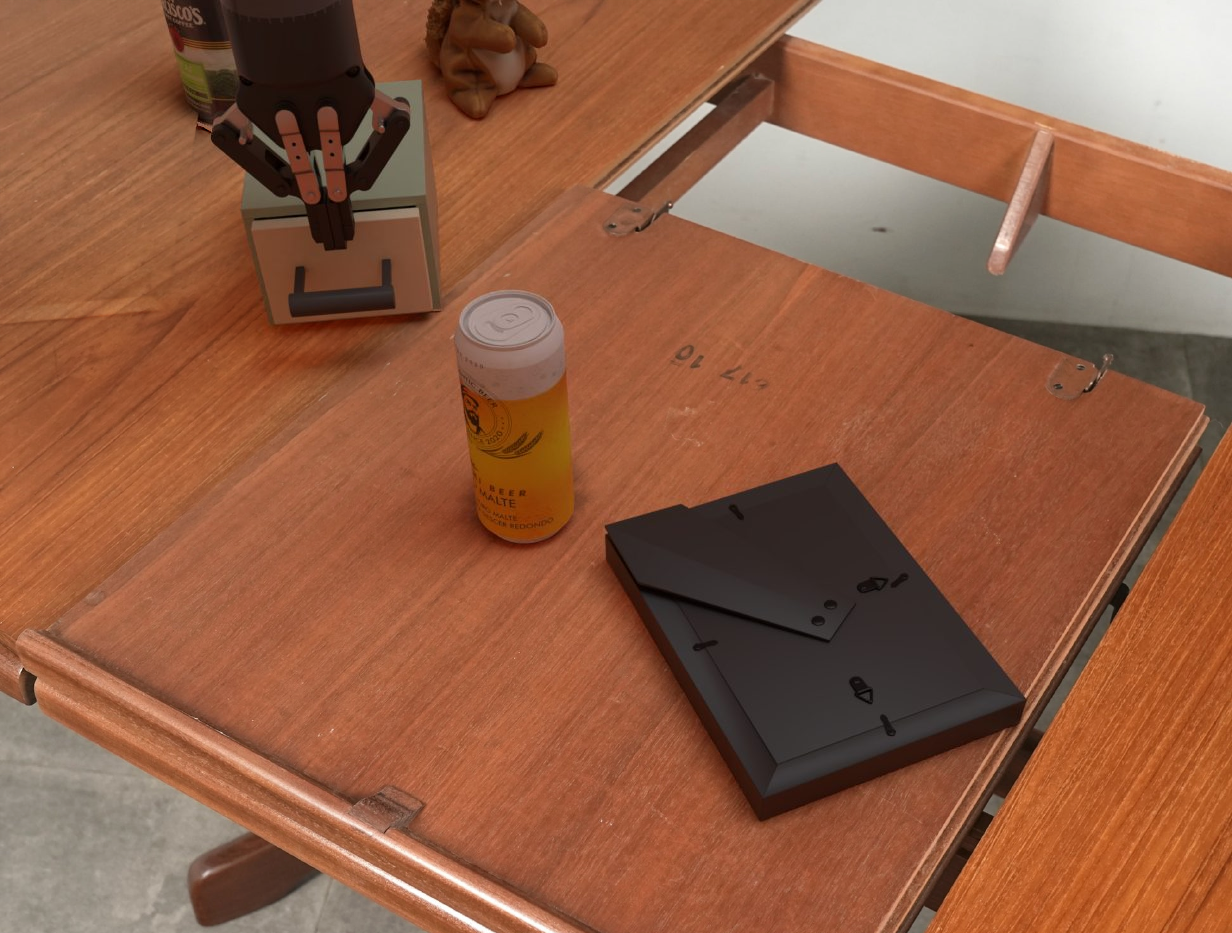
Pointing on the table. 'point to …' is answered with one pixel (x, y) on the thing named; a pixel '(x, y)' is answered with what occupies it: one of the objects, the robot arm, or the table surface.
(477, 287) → the table surface
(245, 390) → the table surface
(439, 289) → the cabinet
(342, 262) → the drawer
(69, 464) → the table surface
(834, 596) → the picture frame
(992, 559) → the table surface
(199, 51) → the coffee can
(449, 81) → the stuffed squirrel
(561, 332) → the beer can
